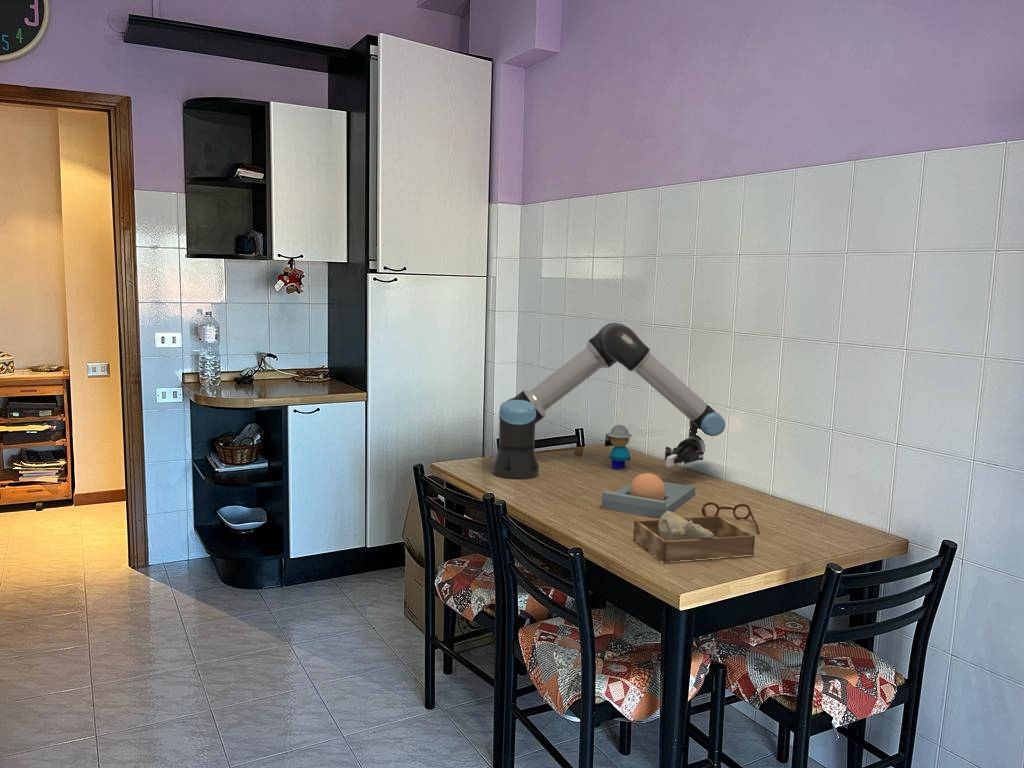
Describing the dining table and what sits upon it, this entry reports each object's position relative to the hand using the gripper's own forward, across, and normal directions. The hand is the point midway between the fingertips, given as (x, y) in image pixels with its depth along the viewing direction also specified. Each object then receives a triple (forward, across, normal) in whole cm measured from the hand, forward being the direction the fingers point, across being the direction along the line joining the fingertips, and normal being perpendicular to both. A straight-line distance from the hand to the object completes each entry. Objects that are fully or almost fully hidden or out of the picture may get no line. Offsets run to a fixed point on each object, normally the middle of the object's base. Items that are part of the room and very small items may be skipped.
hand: (668, 462), depth 245 cm
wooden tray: (+49, -23, -9) cm, 55 cm away
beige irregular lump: (+50, -23, -9) cm, 56 cm away
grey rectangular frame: (+15, 0, -9) cm, 18 cm away
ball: (+23, -2, -4) cm, 23 cm away
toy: (-18, +23, -9) cm, 31 cm away
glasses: (+25, -26, -9) cm, 37 cm away
